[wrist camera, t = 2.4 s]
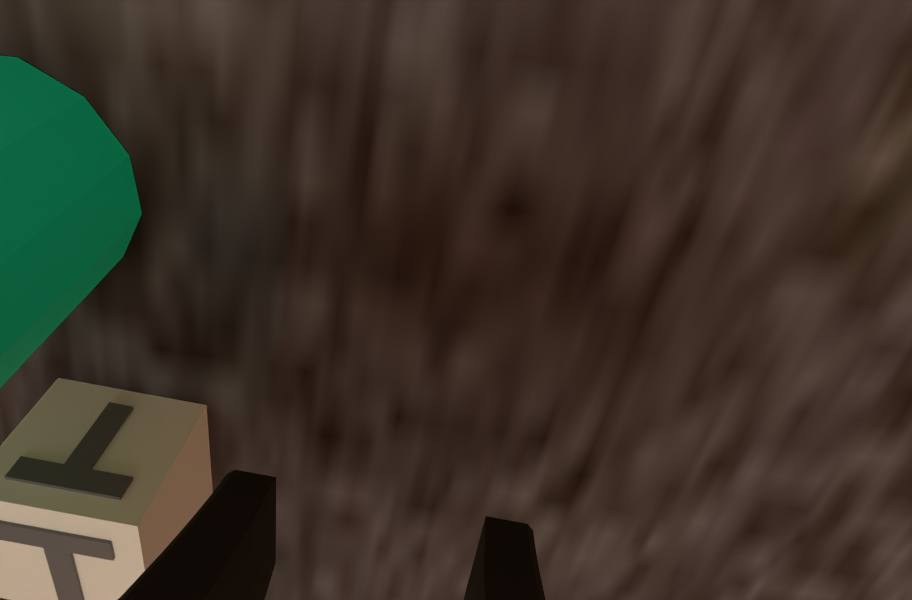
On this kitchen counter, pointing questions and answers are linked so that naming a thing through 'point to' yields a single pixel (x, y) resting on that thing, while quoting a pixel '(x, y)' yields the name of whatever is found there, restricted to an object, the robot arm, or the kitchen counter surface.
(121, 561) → the letter cube
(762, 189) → the kitchen counter surface
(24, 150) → the candle
